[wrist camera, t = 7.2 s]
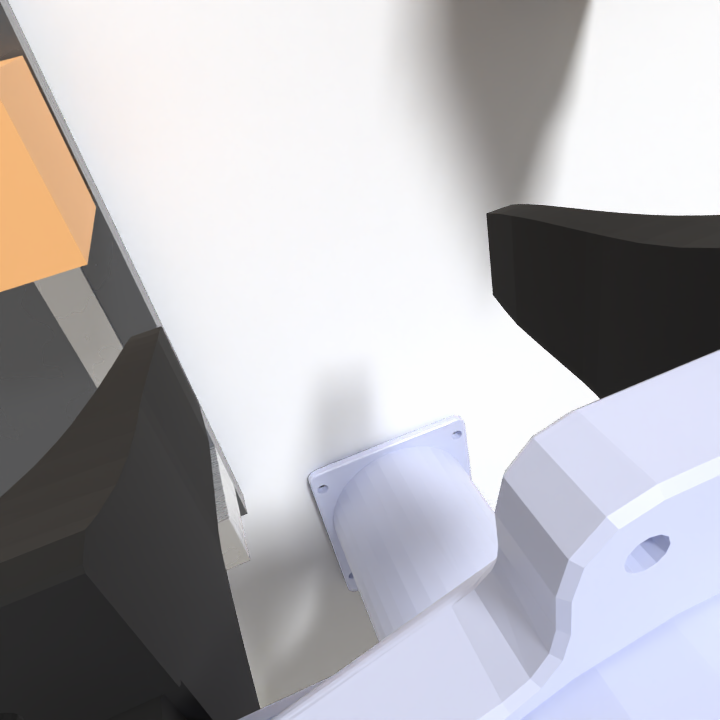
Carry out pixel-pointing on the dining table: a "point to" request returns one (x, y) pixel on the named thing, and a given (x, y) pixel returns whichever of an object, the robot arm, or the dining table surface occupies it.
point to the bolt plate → (79, 337)
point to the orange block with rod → (37, 187)
